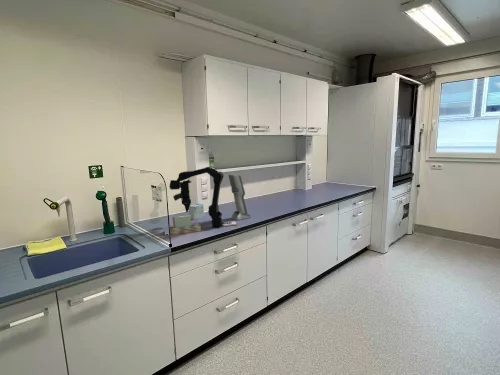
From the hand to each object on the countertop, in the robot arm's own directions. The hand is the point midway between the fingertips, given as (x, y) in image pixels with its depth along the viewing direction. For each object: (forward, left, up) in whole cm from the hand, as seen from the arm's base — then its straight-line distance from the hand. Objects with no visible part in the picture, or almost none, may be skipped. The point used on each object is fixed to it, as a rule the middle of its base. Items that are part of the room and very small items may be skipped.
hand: (186, 210), depth 193 cm
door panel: (-4, +10, -10) cm, 15 cm away
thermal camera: (-26, -33, -12) cm, 44 cm away
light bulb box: (+9, -22, -12) cm, 27 cm away
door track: (-4, +10, -12) cm, 16 cm away
